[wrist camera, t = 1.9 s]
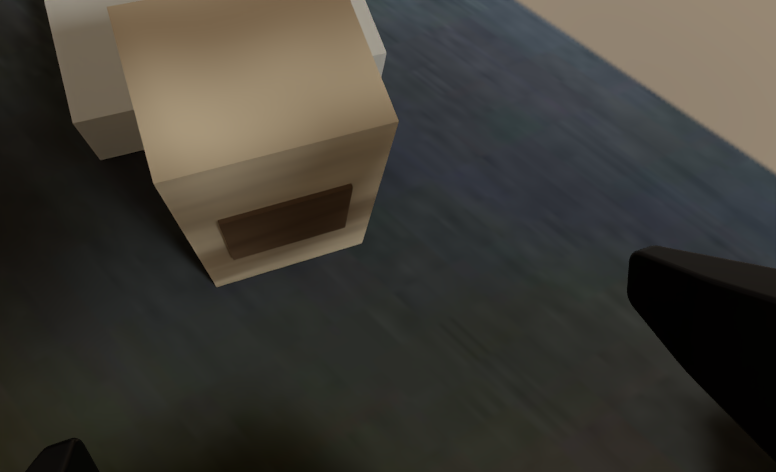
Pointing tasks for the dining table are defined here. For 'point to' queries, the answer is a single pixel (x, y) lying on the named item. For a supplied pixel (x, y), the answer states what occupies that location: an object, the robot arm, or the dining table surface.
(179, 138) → the birch block
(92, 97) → the grey plinth
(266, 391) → the dining table surface
